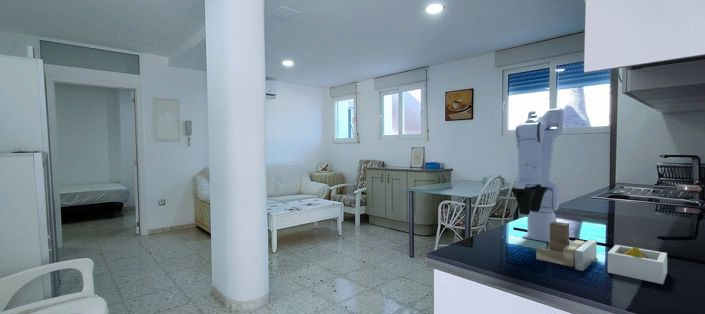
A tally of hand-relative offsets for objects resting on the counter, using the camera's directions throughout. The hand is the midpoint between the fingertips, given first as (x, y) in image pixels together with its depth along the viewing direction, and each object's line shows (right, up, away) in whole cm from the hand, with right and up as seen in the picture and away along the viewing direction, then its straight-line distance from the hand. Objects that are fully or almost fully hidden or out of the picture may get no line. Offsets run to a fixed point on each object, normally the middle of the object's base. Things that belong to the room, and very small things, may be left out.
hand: (529, 212), depth 89 cm
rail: (+7, -10, -12) cm, 17 cm away
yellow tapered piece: (+14, -11, -18) cm, 25 cm away
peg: (+3, -11, -8) cm, 13 cm away
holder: (+14, -10, -18) cm, 25 cm away
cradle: (+4, -10, -8) cm, 14 cm away
